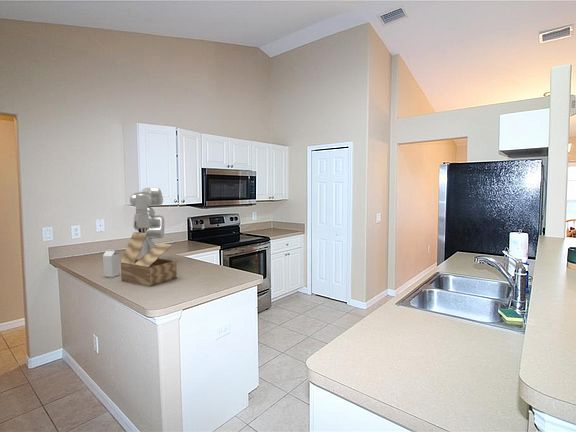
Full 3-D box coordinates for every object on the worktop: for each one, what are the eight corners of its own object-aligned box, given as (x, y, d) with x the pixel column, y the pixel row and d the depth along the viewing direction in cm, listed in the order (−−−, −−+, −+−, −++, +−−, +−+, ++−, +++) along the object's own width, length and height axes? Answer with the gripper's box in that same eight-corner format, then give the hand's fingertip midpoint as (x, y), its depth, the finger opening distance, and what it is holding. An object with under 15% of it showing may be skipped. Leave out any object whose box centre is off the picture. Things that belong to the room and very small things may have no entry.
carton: (149, 272, 233) (149, 256, 232) (176, 277, 220) (176, 260, 218) (121, 280, 214) (120, 262, 213) (149, 286, 200) (148, 267, 199)
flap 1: (134, 232, 220) (133, 231, 220) (147, 233, 214) (146, 233, 213) (121, 262, 212) (120, 262, 212) (134, 264, 206) (133, 264, 206)
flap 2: (158, 243, 222) (158, 243, 221) (172, 245, 215) (171, 244, 215) (134, 264, 206) (134, 264, 206) (148, 267, 199) (148, 266, 199)
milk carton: (112, 277, 221) (111, 250, 219) (103, 276, 222) (102, 250, 221) (119, 274, 228) (118, 248, 226) (111, 274, 229) (110, 248, 228)
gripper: (147, 212, 229) (148, 237, 228) (128, 212, 215) (129, 239, 215) (154, 211, 225) (155, 237, 225) (135, 211, 212) (136, 238, 211)
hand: (142, 238), depth 220 cm, fingers closed
